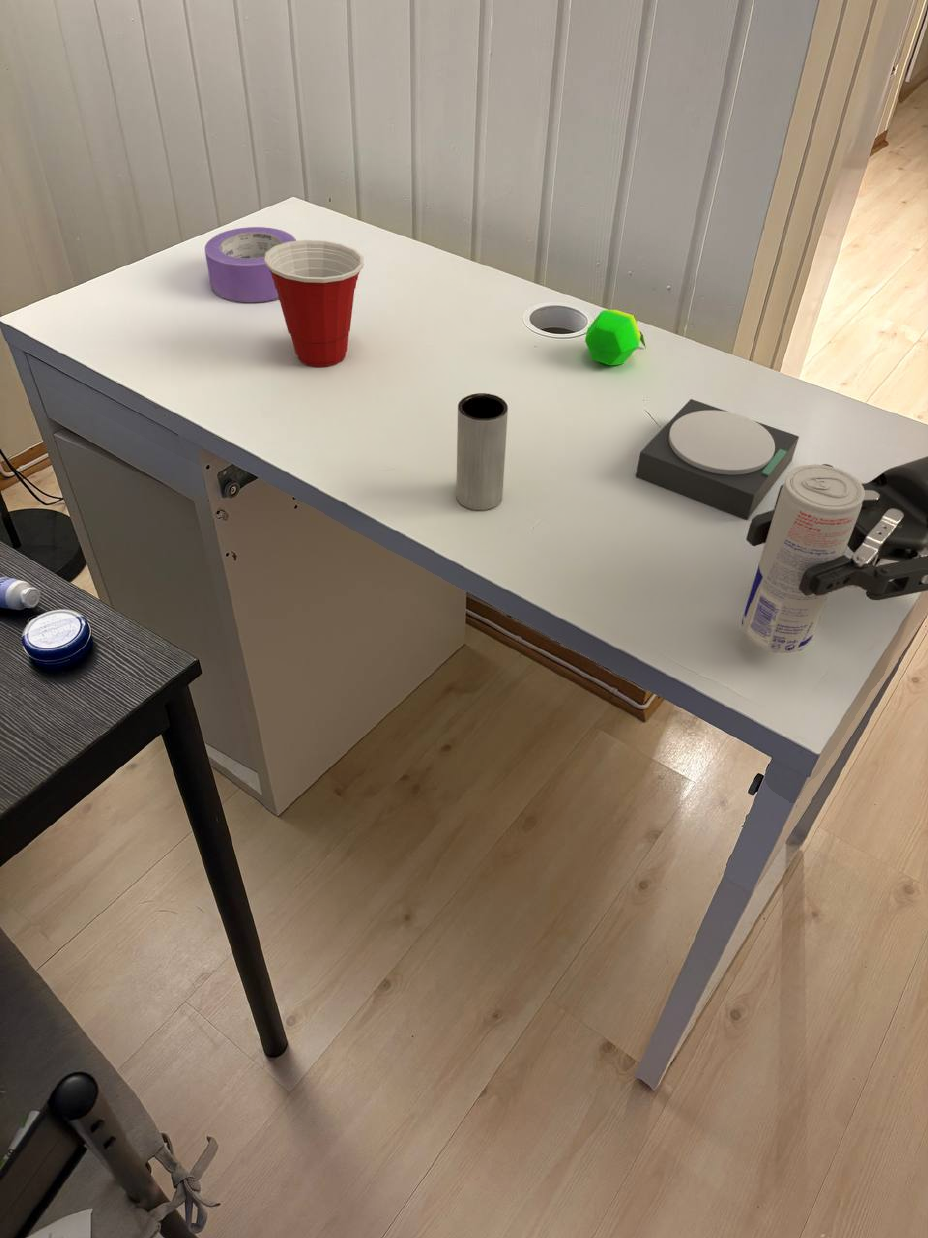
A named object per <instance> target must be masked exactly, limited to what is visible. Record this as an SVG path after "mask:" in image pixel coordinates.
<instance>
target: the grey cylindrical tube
mask: <svg viewBox="0 0 928 1238" xmlns="http://www.w3.org/2000/svg"><path fill="white" fill-rule="evenodd" d="M508 411H509V407H508V403H507V402H506V401H505V400H504V399H503V398H502V397H500V396H497V395H496V394H492V393H487V392H485V393H484V392H480V393H479V392H478V393H472V394H468V395H466V396H464V397H463V398H461V399H460V400H459V402H458V405H457V430H456V431H457V434H456V435H457V436H456V437H457V438H456V487H455V488H456V489H455V491H456V492H455V493H456V494H455V495H456V499H457V502H458V503H459V504H461V506H462V507H464V508H467V509H469V510H472V511H473V510H474V511H487V510H490V509H494V508H495V507H498V505H500V503H501V502H502V499H503V496H504V495H503V494H504V479H505V462H506V449H507V446H506V445H507V430H508V429H507V428H508V416H509V415H508Z"/></svg>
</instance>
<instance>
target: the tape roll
mask: <svg viewBox="0 0 928 1238" xmlns="http://www.w3.org/2000/svg"><path fill="white" fill-rule="evenodd" d="M291 241H297V240H296V237H294V236H293V235H292V234H290V233H289V232H287V231H284V230H282V229H278V228H274V227H273V228H272V227H264V226H249V227H248V226H247V227H240V228H234V229H230V230H227V231H223V232H220V233H219V234H216V235H214V236H212V237H211V238H210V239H209V240H208V241H207V242H206V243H205V245H204V257H205V261H206V266H207V267H206V268H207V272H208V279H209V284H210V288H211V290H212V292H213V293H214V294H215V295H216V296H218V297H220V298H222V299H226V300H228V301H233V302H238V303H263V302H269V301H274V300H277V299H278V300H279V296H278V293H277V289H276V288H275V285H274V280H273V279H272V275H271V272H270V270H269V268H268V267H267V266H266V264H265V261H264V260H265V253H266V252H267V251H269V250H270V249H271V248H272V247H274V246H277V245H280V244H283V243H286V242H291Z"/></svg>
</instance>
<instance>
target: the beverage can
mask: <svg viewBox="0 0 928 1238" xmlns="http://www.w3.org/2000/svg"><path fill="white" fill-rule="evenodd" d="M861 483H862V482H861V481H860V480H859V479H858V478H856V477H855V476H854V475H852V474H851V473H849V472H847V471H845V470H842V469H840V468H837V467H834V466H833V467H830V466H826V465H822V464H805V465H800V466H797V467H795V468H793V469H791V470H789V472H788V473H787V474H786V475H785V477H784V483H783V484H784V485H783V484H782V485H783V487H782V490H781V493H780V496H779V500H778V503H777V506H776V509H775V513H774V516H773V519H772V523H771V526H770V529H769V533H768V536H767V539H766V543H764V546H763V549H762V552H761V556H760V559H759V562H758V565H757V569H756V574H755V576H754V579H753V583H752V586H751V588H750V592H749V596H748V599H747V602H746V605H745V609H744V612H743V616H742V618H741V619H742V620H741V627H742V630H743V632H744V634H745V635H746V637H747V638H748V639H749V640H750V641H751V642H753V643H754V644H755V645H756V646H758V647H760V648H761V649H764V650H765V651H766V650H767V651H769V652H773V653H779V654H791V653H795V652H799V651H802V650H803V649H805V648H806V647H807V646H809V644H810V643H811V642H812V638H813V636H814V633H815V631H816V628H817V625H818V623H819V620H820V617H821V616H822V612H823V610H824V607H825V603H826V601H827V599H828V596H829V594H830V592H829V593H827V594H825V595H815V594H811V595H809V596H805V595H804V594H803V593H802V592H801V591H800V590H799V585H800V582H801V579H802V577H803V574H804V572H805V571H806V570H807V569H808V568H810V567H813V566H816V565H819V564H822V563H824V562H827V561H831V560H834V559H836V558H838V557H841V556H844V555H845V552H846V550H847V547H848V545H847V544H848V541H849V539H850V536H851V534H852V531H853V528H854V526H855V523H856V520H857V518H858V515H859V513H860V510H861V507H862V502H863V500H864V497H865V490H864V487H863V486H862V484H861Z"/></svg>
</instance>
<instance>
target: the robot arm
mask: <svg viewBox="0 0 928 1238" xmlns="http://www.w3.org/2000/svg"><path fill="white" fill-rule="evenodd" d="M821 465H826V466H830V467H834V466H833V465H831V464H828V463H823V464H821ZM860 483H861V484H862V486H863V487H864V490H865V497H864V500H863V502H862V507H861V510H860V513H859V515H858V518H857V520H856V523H855V526H854V528H853V531H852V534H851V536H850V539H849V541H848V544H847V547H848V548H849V550H850V551H851V552H852V553H853V554H852V555H851V558H849V557H847V555H846V554H844V555H843V556H841V557H838V558H836V559H834V560H831V561H827V562H824V563H822V564H819V565H816V566H813V567H810V568H808V569H807V570H806V571H805V572H804V574H803V577H802V579H801V582H800V585H799V590H800V591H801V592H802V593H803V594H804V595H805V596H809V595H811V594H815V595H825V594H827V593H829V594H830V593H832V592H835V591H837V590H841V589H844V588H846V587H848V588H850V589H856V588H861V589H863V590H865V595H866V597H867V598H868V599H870V600H871V601H882V600H888V599H892V598H897V597H903V596H907V595H912V594H918V593H922V592H926V591H927V592H928V456H924V457H921V458H918V459H915V460H912V461H909V462H906V463H903V464H900V465H897V466H894V467H891V468H888V469H886V470H885V471H883V472H881V473H880V474H878V475H877V476H876V477H874V478H873V479H872V480H870V481H868V482H864V483H863V482H860ZM783 485H784V483H783V484H782V485H780V488H779V491H778V494H777V497H776V499H775V500H776V501H775V504H774V507H773V509H772V510H769V511H766V512H762V513H759V514H756V515H755V516H754V517H752V519H751V521H750V524H749V526H748V527H749V528H748V531H747V534H746V538H745V539H746V541H747V542H748V544H750V545H751V546H752V547H758V546H760V545H763V544H765V543H766V539H767V536H768V533H769V529H770V526H771V523H772V519H773V516H774V513H775V509H776V506H777V503H778V500H779V496H780V493H781V490H782V487H783ZM884 560H885V561H886V560H887V561H894V562H889V563H884V564H881V563H882V562H884Z"/></svg>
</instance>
